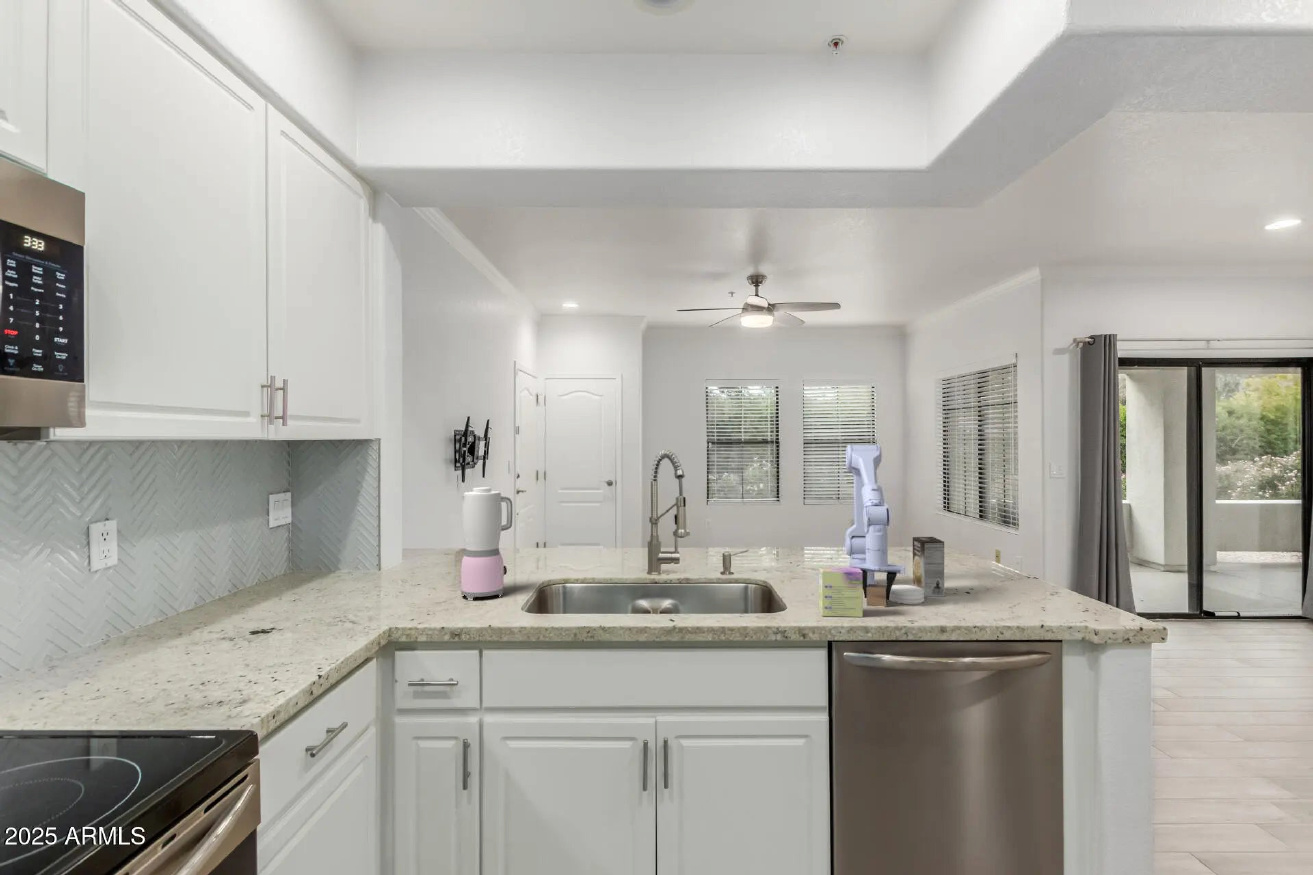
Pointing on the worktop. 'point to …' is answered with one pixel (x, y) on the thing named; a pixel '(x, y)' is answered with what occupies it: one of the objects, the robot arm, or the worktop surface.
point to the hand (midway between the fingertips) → (876, 598)
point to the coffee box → (928, 565)
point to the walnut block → (876, 595)
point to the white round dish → (906, 594)
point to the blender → (483, 542)
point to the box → (840, 592)
